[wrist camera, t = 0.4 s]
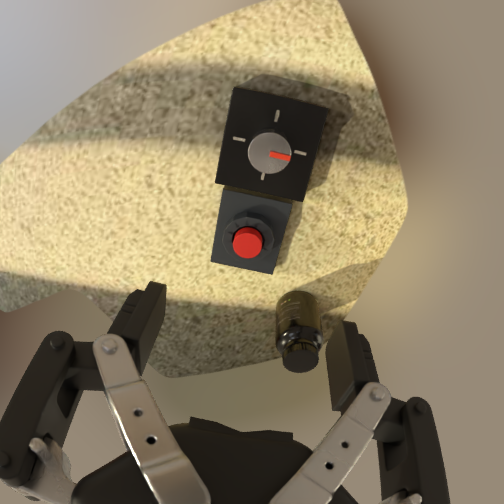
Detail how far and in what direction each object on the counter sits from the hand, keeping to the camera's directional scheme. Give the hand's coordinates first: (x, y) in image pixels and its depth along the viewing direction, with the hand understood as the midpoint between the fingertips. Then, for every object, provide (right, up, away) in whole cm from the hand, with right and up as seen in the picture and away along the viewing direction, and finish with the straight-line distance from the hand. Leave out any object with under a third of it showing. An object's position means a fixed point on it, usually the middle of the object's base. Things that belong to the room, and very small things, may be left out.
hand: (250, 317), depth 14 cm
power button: (0, +5, +27) cm, 28 cm away
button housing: (0, +6, +30) cm, 31 cm away
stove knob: (+2, +15, +21) cm, 26 cm away
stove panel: (+2, +17, +24) cm, 29 cm away
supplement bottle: (+7, -6, +36) cm, 37 cm away
